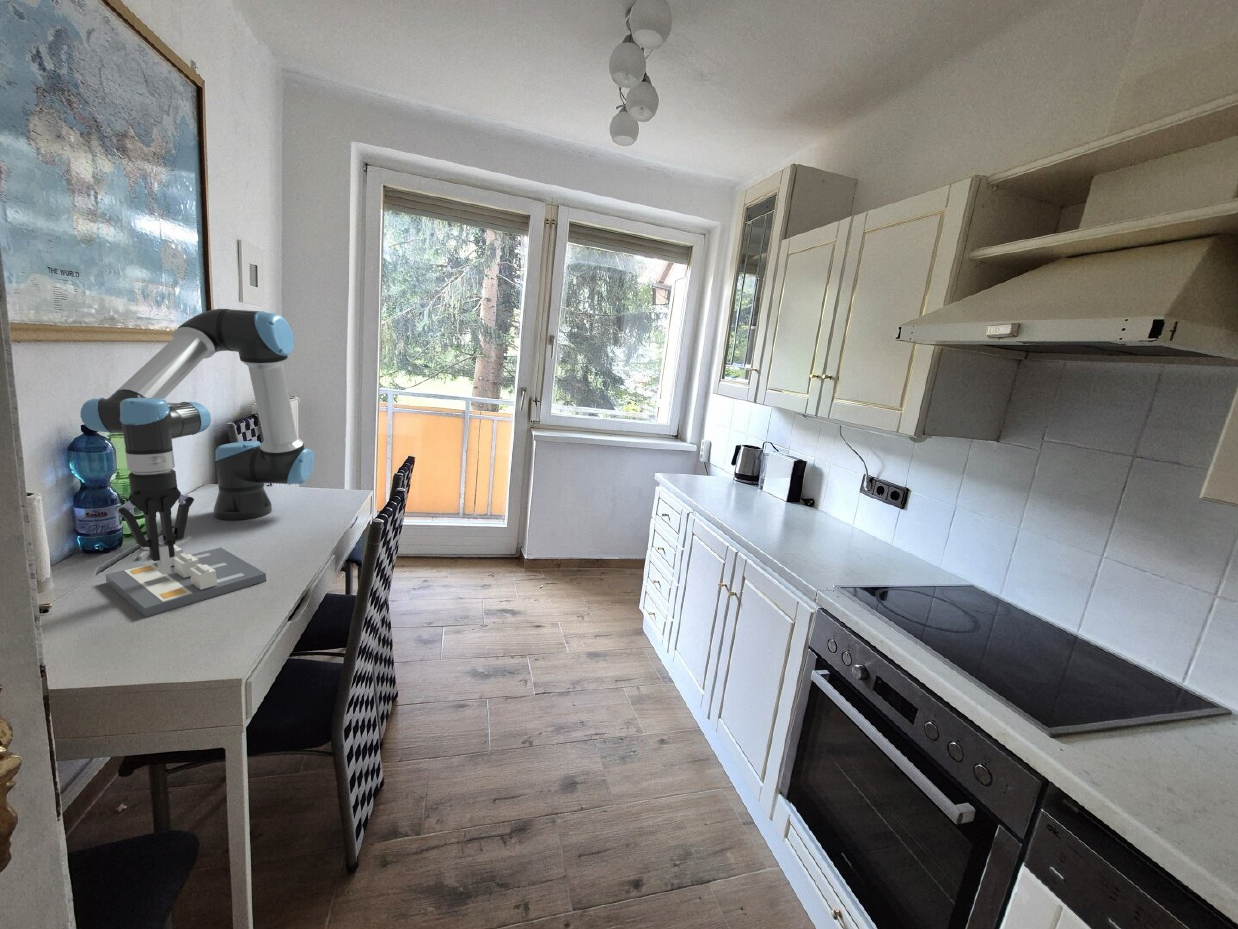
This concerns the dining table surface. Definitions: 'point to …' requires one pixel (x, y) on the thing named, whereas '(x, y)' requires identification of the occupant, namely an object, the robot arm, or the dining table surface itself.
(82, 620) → the dining table surface
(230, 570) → the switch bank
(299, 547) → the dining table surface
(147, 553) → the pliers
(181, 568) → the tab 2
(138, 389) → the robot arm
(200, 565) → the white plastic block
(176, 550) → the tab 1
